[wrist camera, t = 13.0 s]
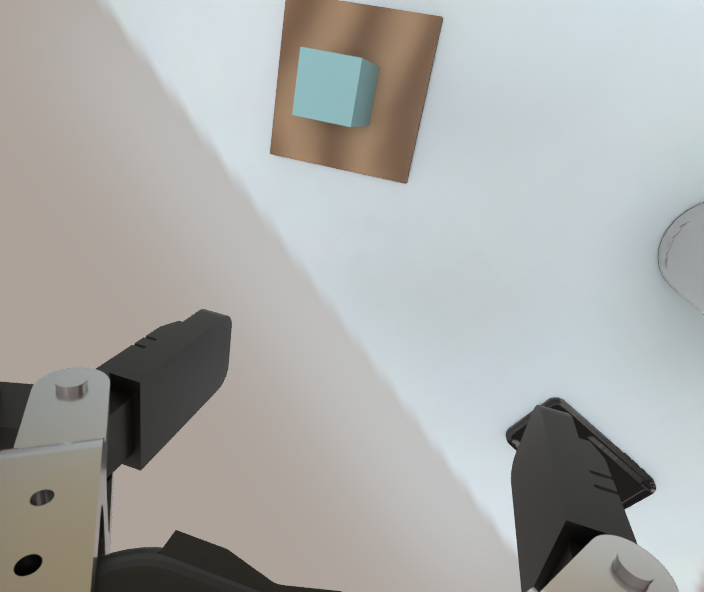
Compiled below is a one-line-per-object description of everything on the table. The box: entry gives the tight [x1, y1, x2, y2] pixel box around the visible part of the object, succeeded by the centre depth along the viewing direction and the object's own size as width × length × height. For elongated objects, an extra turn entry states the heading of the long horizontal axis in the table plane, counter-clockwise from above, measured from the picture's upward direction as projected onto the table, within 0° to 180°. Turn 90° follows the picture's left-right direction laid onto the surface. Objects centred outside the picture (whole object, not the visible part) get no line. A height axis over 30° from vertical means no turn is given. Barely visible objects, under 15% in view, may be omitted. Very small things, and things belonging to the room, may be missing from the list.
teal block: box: [292, 47, 380, 127], centre depth 40 cm, size 5×5×7 cm
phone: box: [506, 397, 656, 509], centre depth 51 cm, size 8×1×15 cm
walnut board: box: [270, 0, 443, 184], centre depth 43 cm, size 14×14×1 cm
